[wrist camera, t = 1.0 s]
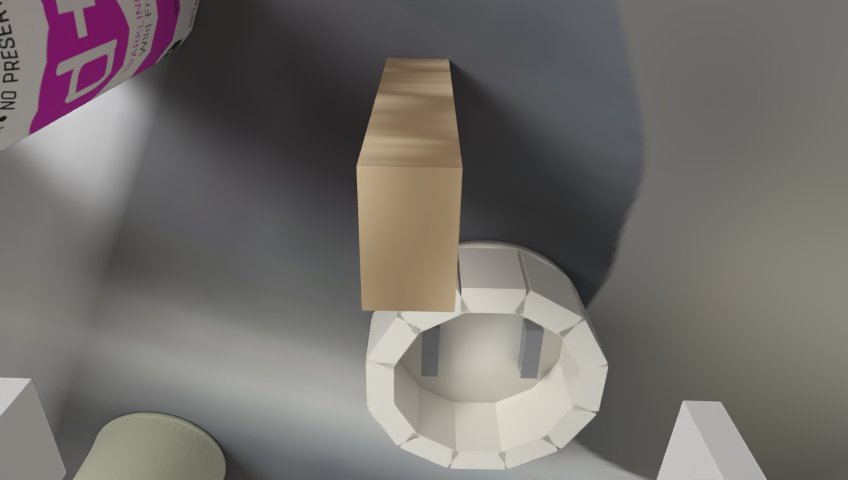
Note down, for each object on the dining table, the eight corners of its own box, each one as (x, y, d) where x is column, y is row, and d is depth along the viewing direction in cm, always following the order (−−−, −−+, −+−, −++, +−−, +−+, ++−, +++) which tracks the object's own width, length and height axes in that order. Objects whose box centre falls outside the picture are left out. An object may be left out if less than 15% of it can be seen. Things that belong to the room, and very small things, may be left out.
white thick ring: (371, 237, 34) (362, 286, 30) (599, 241, 34) (624, 291, 30) (375, 406, 40) (369, 466, 36) (568, 410, 40) (585, 471, 36)
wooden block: (388, 154, 32) (362, 310, 19) (387, 57, 29) (356, 166, 17) (445, 155, 32) (454, 312, 19) (448, 59, 29) (462, 168, 17)
